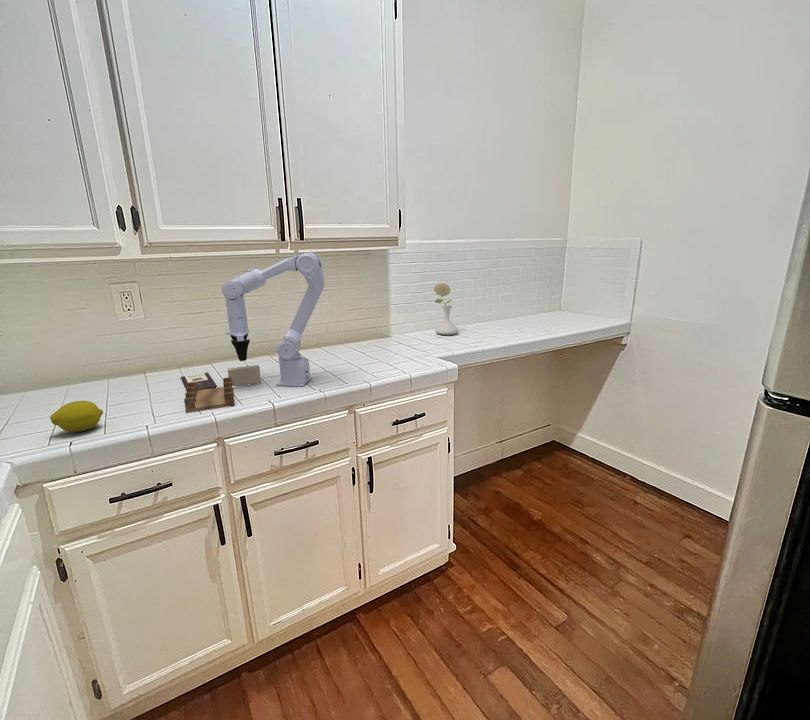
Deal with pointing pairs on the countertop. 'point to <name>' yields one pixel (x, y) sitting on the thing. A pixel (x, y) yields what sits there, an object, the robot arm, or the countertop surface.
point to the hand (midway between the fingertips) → (242, 357)
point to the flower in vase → (445, 311)
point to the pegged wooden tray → (209, 397)
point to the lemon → (77, 416)
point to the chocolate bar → (200, 381)
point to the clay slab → (244, 375)
